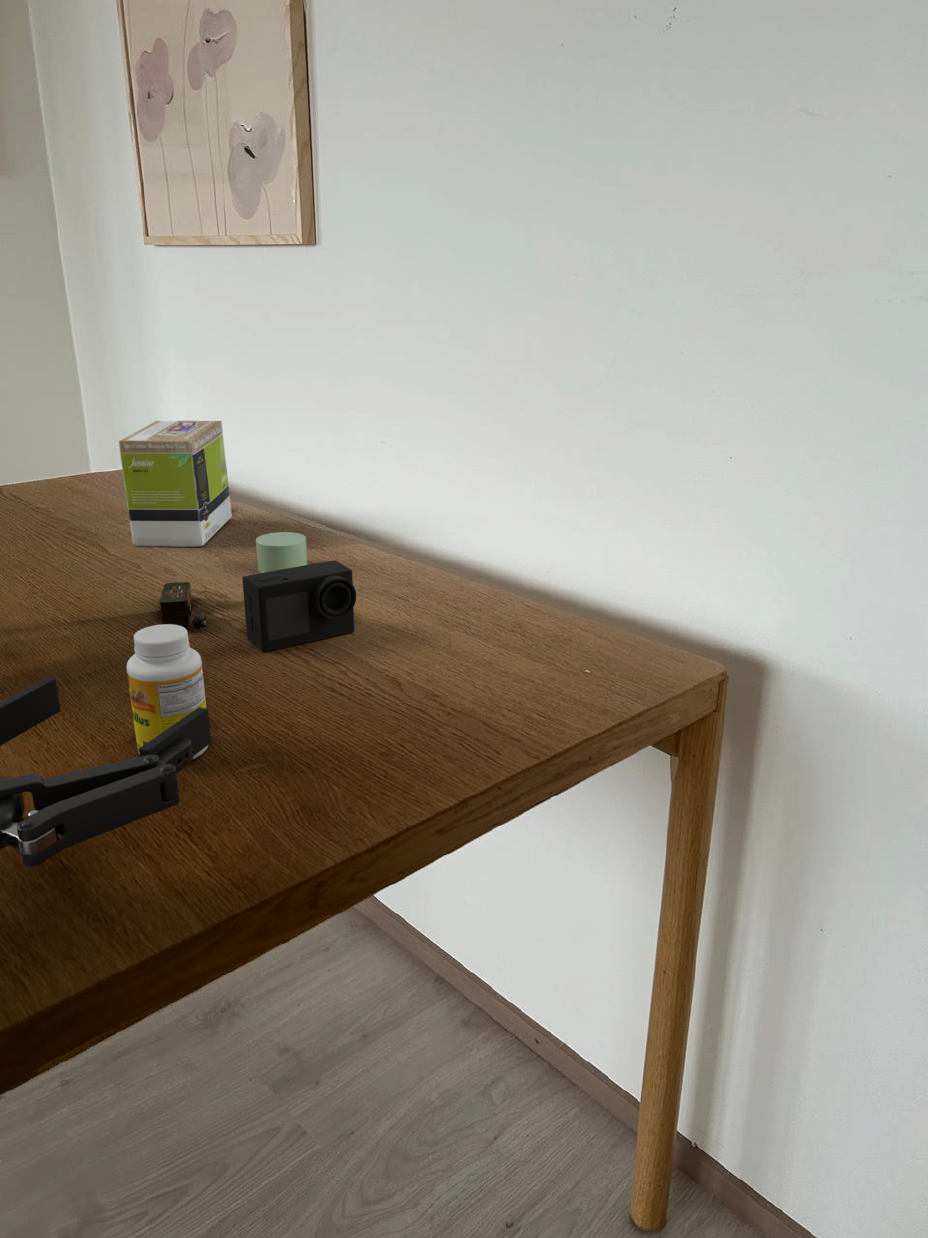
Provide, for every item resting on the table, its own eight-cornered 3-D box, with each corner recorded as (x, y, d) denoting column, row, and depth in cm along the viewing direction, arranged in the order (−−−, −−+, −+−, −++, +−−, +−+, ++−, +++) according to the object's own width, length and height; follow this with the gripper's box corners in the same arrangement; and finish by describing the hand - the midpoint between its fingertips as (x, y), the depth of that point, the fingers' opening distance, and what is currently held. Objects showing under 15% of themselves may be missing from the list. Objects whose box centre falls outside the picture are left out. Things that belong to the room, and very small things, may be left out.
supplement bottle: (132, 743, 78) (117, 626, 74) (201, 729, 80) (190, 615, 76) (144, 775, 73) (128, 652, 69) (217, 759, 75) (205, 639, 72)
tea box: (167, 517, 143) (156, 418, 137) (233, 519, 142) (225, 419, 137) (130, 547, 129) (116, 437, 123) (203, 548, 128) (193, 438, 123)
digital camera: (266, 657, 94) (262, 590, 92) (246, 639, 98) (241, 575, 96) (360, 636, 99) (358, 572, 97) (337, 620, 104) (334, 558, 101)
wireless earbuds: (161, 634, 100) (158, 605, 98) (167, 610, 106) (164, 583, 105) (207, 631, 100) (204, 602, 99) (210, 608, 107) (208, 580, 106)
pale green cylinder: (254, 573, 118) (251, 534, 117) (302, 568, 121) (300, 530, 119) (263, 588, 113) (260, 548, 111) (313, 582, 115) (311, 543, 114)
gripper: (-271, 878, 57) (4, 725, 76) (58, 987, 49) (277, 786, 67) (-307, 768, 54) (-12, 638, 73) (36, 864, 46) (270, 690, 65)
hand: (127, 708), depth 70 cm, fingers open, 13 cm apart
